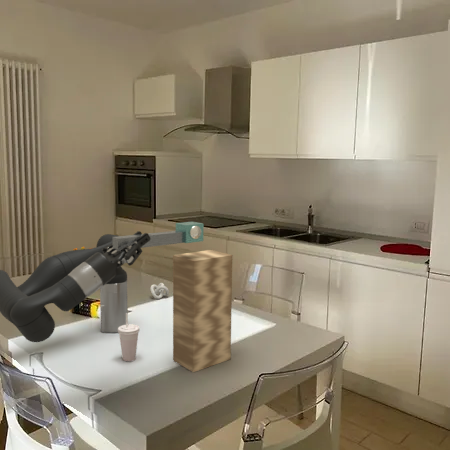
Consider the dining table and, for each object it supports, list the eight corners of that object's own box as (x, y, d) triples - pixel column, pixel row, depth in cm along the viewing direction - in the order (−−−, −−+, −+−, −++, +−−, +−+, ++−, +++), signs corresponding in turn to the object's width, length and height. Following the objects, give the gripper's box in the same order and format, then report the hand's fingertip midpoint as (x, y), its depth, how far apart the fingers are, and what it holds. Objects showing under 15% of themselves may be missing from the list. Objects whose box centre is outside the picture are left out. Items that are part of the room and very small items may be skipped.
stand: (193, 372, 134) (194, 261, 130) (173, 360, 142) (173, 255, 137) (230, 359, 143) (232, 255, 139) (209, 348, 151) (210, 249, 146)
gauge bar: (121, 251, 117) (121, 231, 116) (110, 248, 121) (110, 228, 120) (204, 241, 134) (204, 223, 133) (192, 238, 138) (192, 221, 137)
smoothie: (119, 354, 145) (119, 310, 143) (140, 354, 146) (140, 310, 144) (116, 363, 139) (116, 317, 137) (138, 363, 140) (138, 317, 138)
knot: (171, 295, 209) (171, 282, 208) (166, 300, 201) (166, 287, 200) (155, 294, 210) (154, 281, 209) (149, 299, 202) (148, 286, 201)
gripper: (97, 268, 109) (153, 226, 117) (72, 258, 119) (125, 220, 128) (112, 293, 112) (165, 250, 121) (86, 281, 123) (137, 242, 131)
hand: (144, 235), depth 124 cm, fingers closed on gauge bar, 3 cm apart
